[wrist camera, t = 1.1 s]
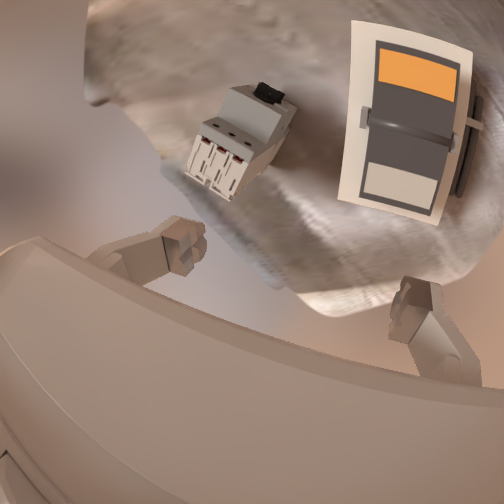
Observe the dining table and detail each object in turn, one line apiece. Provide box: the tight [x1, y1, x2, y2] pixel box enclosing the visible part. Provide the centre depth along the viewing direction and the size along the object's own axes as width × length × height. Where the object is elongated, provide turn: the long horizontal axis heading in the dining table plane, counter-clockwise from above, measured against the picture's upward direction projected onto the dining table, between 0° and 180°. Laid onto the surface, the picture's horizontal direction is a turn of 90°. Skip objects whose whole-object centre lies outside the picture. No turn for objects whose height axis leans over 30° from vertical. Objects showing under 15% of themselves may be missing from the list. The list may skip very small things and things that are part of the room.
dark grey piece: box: [449, 80, 484, 198], centre depth 28 cm, size 19×3×2 cm, turn 1°
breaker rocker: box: [359, 40, 460, 216], centre depth 25 cm, size 20×10×2 cm, turn 1°
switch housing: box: [337, 20, 473, 226], centre depth 28 cm, size 26×16×10 cm, turn 1°
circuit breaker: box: [185, 82, 298, 202], centre depth 36 cm, size 8×14×15 cm, turn 155°
